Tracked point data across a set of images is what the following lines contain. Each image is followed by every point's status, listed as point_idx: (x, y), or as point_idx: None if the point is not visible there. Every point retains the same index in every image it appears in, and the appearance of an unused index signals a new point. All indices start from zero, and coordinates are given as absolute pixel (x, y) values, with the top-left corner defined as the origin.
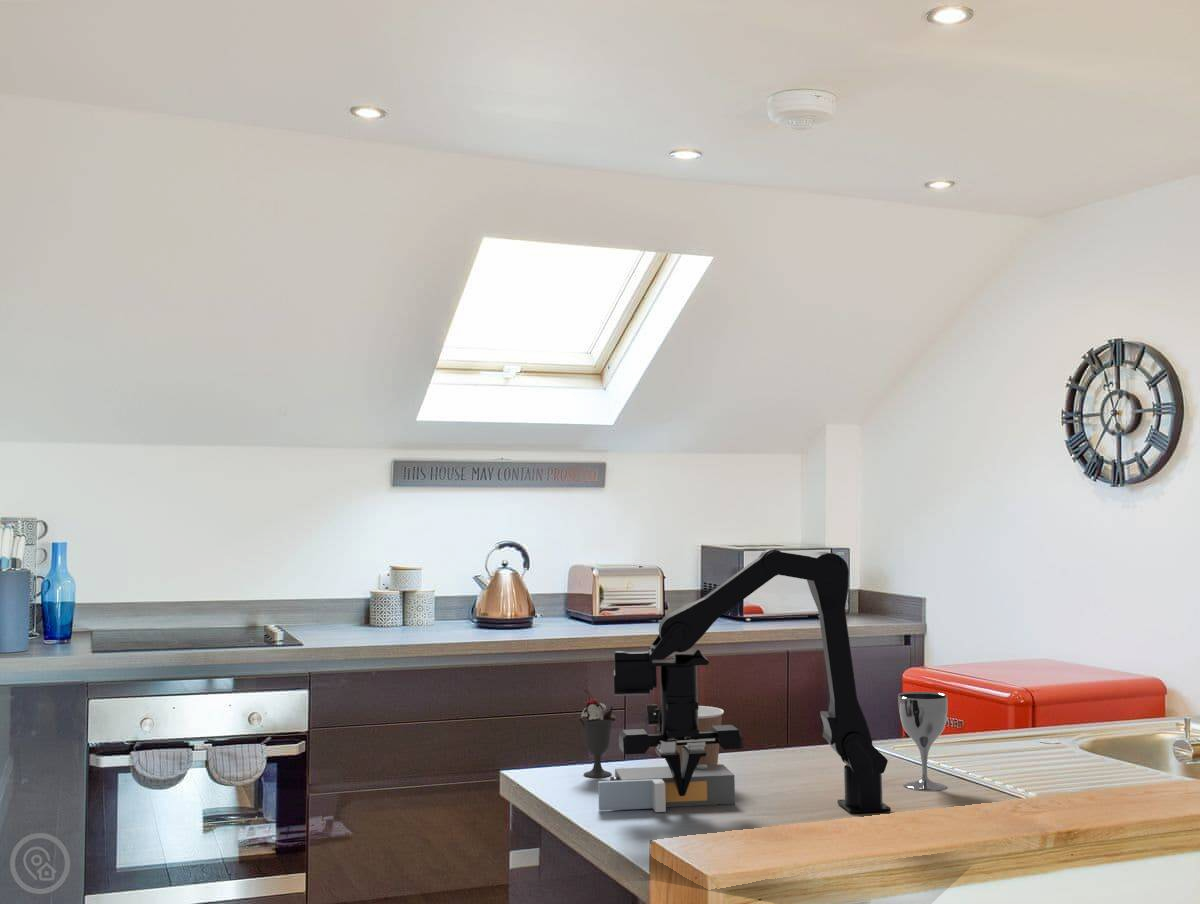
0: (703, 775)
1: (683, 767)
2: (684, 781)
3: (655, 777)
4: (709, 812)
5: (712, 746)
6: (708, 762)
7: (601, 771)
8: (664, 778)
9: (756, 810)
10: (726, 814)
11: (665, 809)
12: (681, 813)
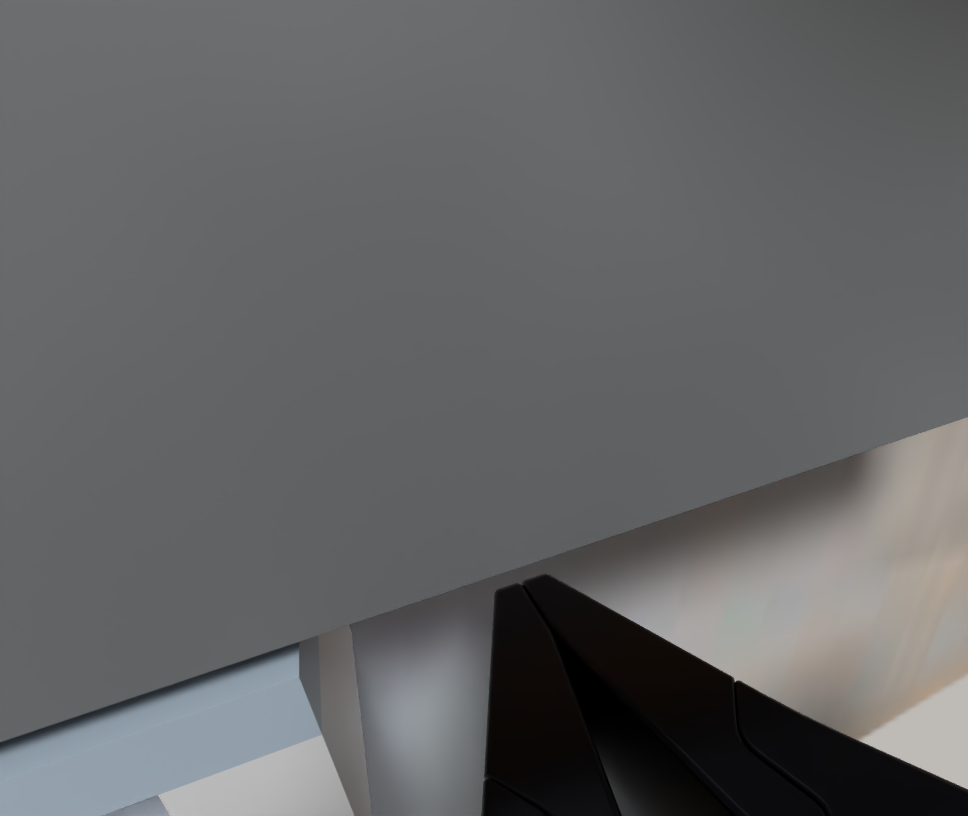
0: (890, 400)
1: None
2: (619, 806)
3: (176, 621)
4: (674, 543)
5: None
6: None
7: None
8: (343, 626)
9: (954, 450)
10: (767, 570)
11: (352, 647)
12: (477, 604)
